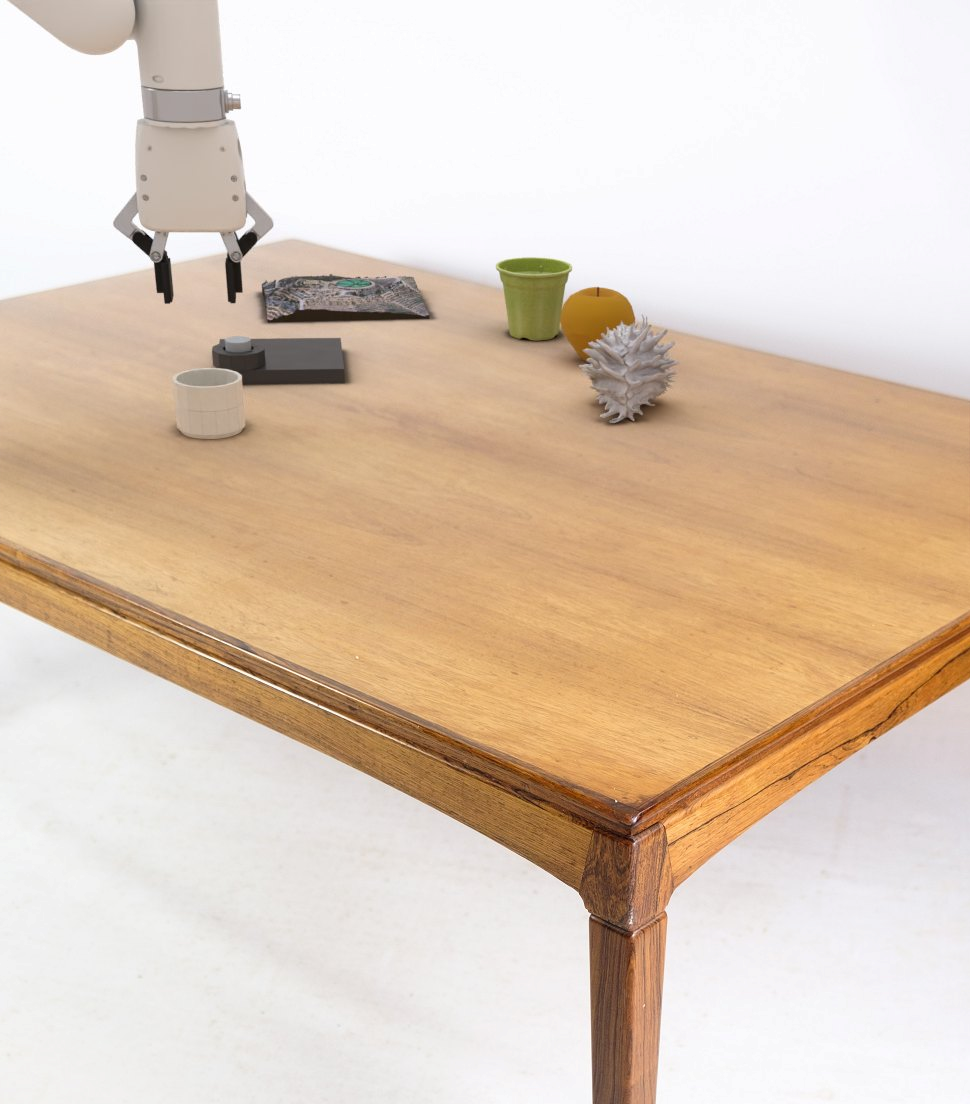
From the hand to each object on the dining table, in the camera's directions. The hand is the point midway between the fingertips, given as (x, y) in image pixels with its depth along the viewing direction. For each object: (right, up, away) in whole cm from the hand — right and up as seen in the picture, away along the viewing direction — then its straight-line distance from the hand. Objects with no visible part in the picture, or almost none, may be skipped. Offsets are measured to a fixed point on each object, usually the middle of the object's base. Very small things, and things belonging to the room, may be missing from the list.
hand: (200, 298), depth 161 cm
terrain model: (+5, +12, +52) cm, 54 cm away
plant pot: (+30, +7, +44) cm, 53 cm away
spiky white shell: (+42, -8, +18) cm, 46 cm away
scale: (+2, -1, +27) cm, 27 cm away
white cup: (0, -12, +6) cm, 13 cm away
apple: (+38, +1, +34) cm, 51 cm away
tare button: (-1, 0, +21) cm, 21 cm away
